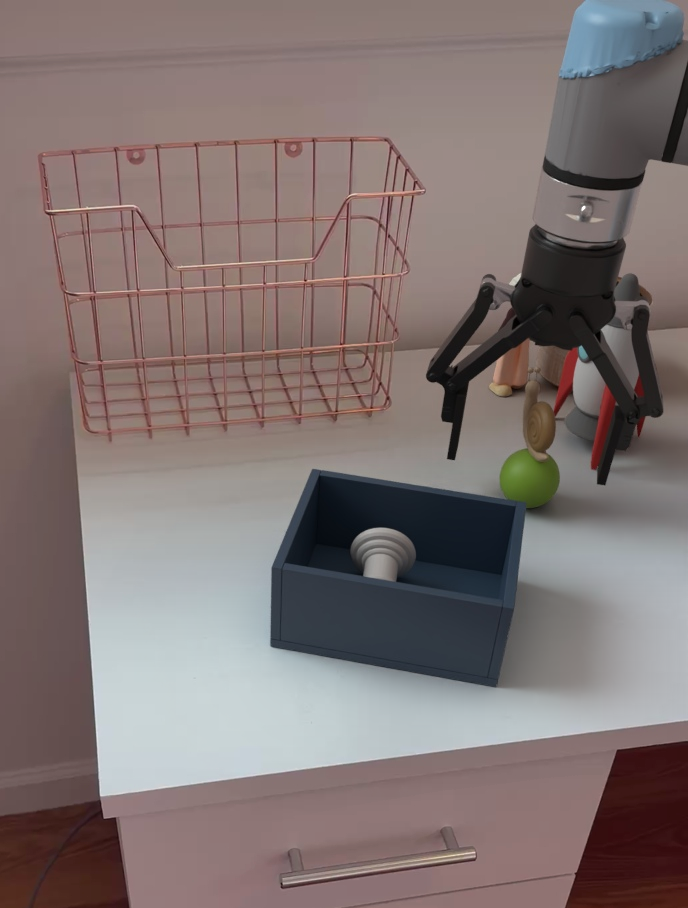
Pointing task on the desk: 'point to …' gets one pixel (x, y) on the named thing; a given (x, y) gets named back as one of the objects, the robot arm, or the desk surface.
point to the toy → (599, 379)
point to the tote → (399, 578)
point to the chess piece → (383, 553)
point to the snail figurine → (532, 454)
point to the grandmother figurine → (511, 362)
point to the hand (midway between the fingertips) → (526, 465)
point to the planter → (566, 352)
